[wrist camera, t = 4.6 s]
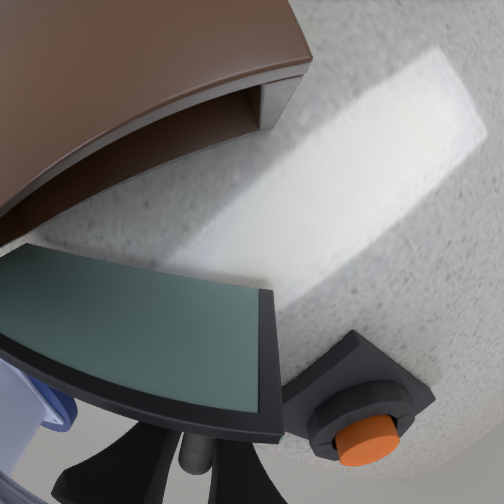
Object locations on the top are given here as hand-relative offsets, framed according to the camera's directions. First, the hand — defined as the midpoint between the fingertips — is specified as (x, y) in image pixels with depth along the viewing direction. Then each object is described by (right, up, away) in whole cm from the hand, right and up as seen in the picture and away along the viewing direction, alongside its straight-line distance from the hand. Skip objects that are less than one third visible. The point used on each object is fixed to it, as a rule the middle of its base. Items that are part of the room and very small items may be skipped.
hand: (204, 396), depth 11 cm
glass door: (-4, +3, +1) cm, 5 cm away
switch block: (+9, -4, +5) cm, 11 cm away
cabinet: (-5, +14, -1) cm, 15 cm away
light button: (+9, -4, +2) cm, 10 cm away
